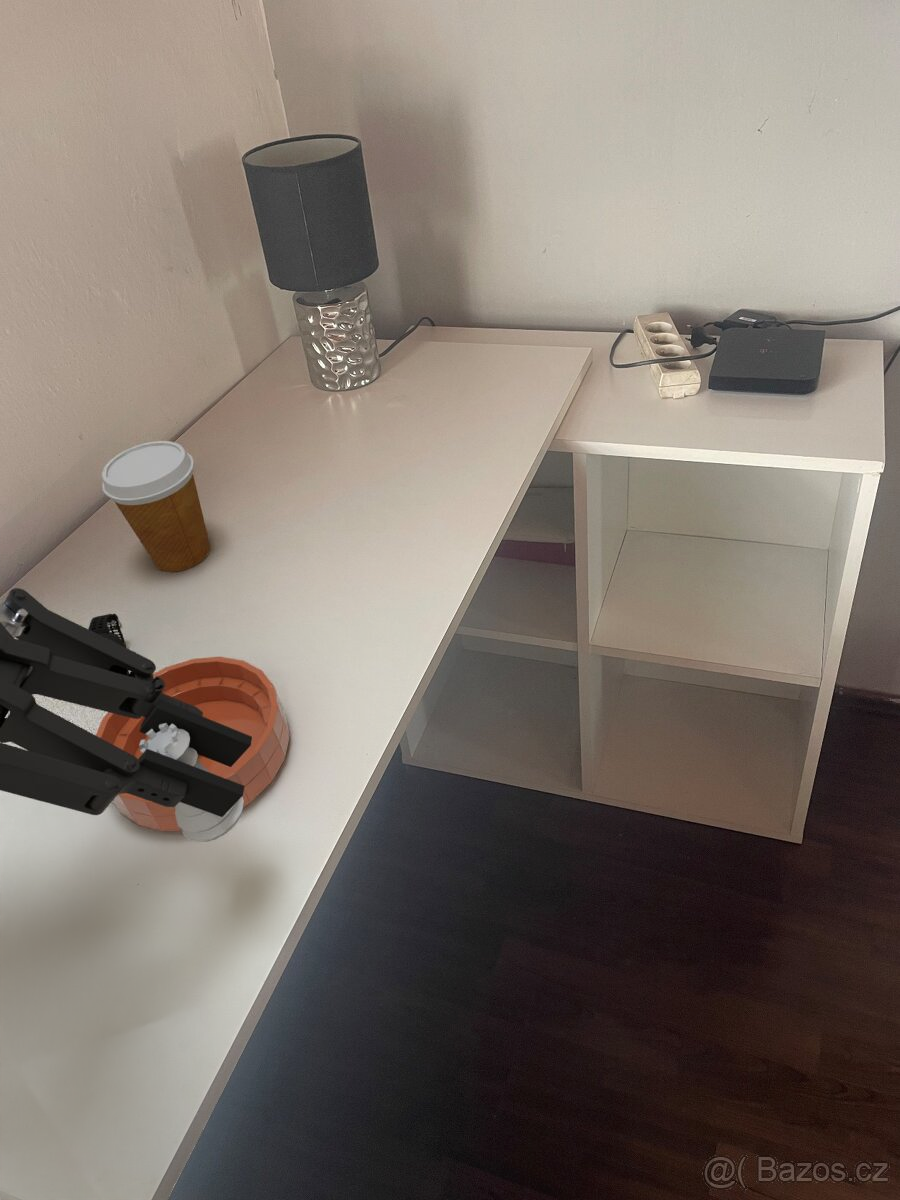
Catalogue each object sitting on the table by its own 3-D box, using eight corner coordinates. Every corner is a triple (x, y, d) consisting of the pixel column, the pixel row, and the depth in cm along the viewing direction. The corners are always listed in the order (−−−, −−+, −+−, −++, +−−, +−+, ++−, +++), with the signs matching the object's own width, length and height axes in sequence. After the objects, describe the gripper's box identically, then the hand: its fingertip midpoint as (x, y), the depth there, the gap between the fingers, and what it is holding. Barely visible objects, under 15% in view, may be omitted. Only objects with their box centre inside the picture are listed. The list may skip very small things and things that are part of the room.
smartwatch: (89, 676, 83) (67, 639, 80) (116, 639, 87) (96, 602, 84) (127, 679, 82) (106, 641, 79) (152, 641, 86) (133, 604, 83)
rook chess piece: (257, 815, 57) (201, 734, 52) (198, 858, 56) (135, 778, 51) (232, 780, 60) (178, 701, 56) (176, 820, 59) (115, 742, 54)
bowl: (235, 853, 66) (217, 819, 63) (77, 813, 71) (53, 780, 68) (320, 706, 76) (307, 670, 73) (176, 680, 81) (159, 646, 78)
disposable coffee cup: (141, 541, 100) (99, 452, 92) (222, 520, 101) (188, 430, 93) (139, 591, 93) (94, 499, 85) (227, 567, 94) (190, 474, 86)
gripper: (-111, 572, 54) (227, 713, 64) (-259, 785, 42) (189, 918, 52) (-75, 490, 50) (279, 653, 60) (-225, 698, 38) (250, 859, 48)
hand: (236, 775), depth 56 cm, fingers closed on rook chess piece, 3 cm apart
